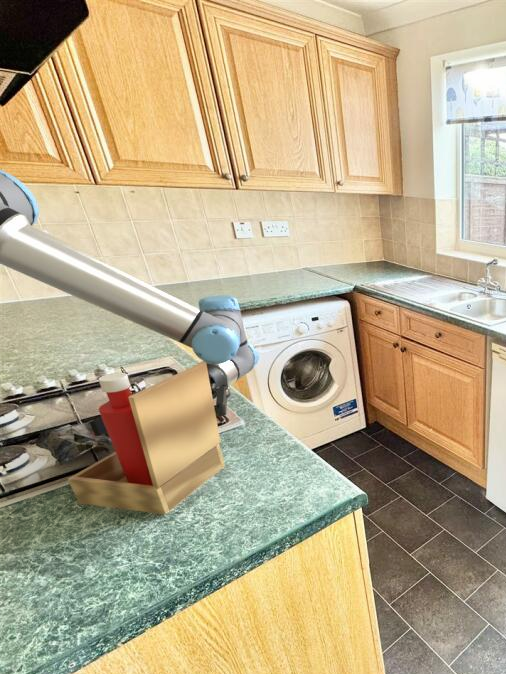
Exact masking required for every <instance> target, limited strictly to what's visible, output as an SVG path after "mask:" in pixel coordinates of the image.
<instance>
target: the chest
mask: <svg viewBox="0 0 506 674" xmlns="http://www.w3.org/2000/svg"><path fill="white" fill-rule="evenodd" d="M225 467H226V462H225V459H224V455H223V452H222V449H221V445H220V443H219V444H218V445H216V446H215V447H213V448H212V449H211V450H209V451H208V452H207V453H205V454H204V455H203V456H201V457H200V458H198V459H197V460H196V461H194V462H193V463H192V464H190V465H189V466H187V467H186V468H185V469H183V470H182V471H181V472H179V473H178V474H177V475H175V476H174V477H172V478H171V479H170V480H168V481H167V482H166V483H164V484H163V485H161V486H160V487H159V488H156V487H153V486H149V485H141V484H133V483H128V481H127V478H126V476H125V474H124V471H123V469H122V466H121V464H120V461H119V459H118V456H117V454H116V452H114V453H112V454H109V455H107V456H104V457H103V458H101V459H100V460H98V461H96V462H94V463H93V464H91V465H89V466H88V467H86V468H84V469H82V470H81V471H79V472H77V473H75V474H74V475H72V476H70V477H68V478H67V481H68V483H69V485H70V487H71V490H72V491H73V494H74V495H75V498H76V499H77V501H78V503H79V504H81V505H88V506H89V505H90V506H97V507H105V508H112V509H120V510H128V511H135V512H136V511H137V512H142V513H143V512H145V513H152V514H159V515H167V514H168V513H169V512H171V511H172V510H173V509H175V508H176V507H177V506H178V505H179V504H180V503H182V502H183V501H185V499H187V498H188V497H189V496H190V495H192V494H193V493H194V492H195V491H197V490H198V489H199V488H200V487H202V486H203V485H204V484H205V483H206V482H208V481H209V480H210V479H211V478H213V477H214V476H216V474H218V473H219V472H221V470H223V469H224V468H225Z"/></svg>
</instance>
